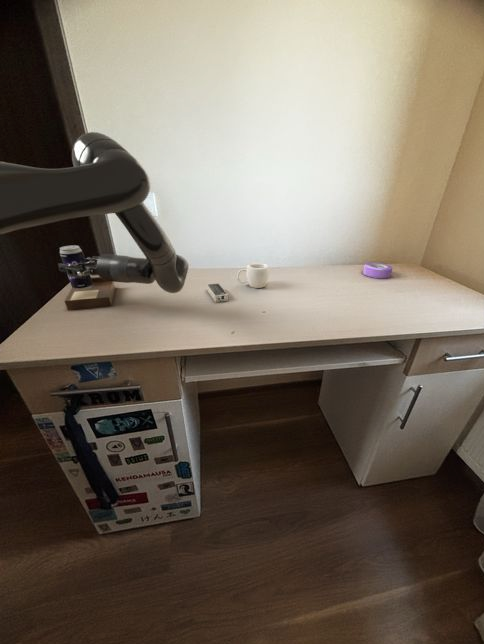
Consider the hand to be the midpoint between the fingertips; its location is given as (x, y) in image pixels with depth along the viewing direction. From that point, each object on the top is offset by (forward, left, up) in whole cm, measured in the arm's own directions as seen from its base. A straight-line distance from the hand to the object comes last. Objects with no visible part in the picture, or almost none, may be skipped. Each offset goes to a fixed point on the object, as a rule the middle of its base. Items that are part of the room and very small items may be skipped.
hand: (68, 264), depth 83 cm
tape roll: (+116, +1, -13) cm, 117 cm away
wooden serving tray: (+3, +3, -12) cm, 13 cm away
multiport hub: (+43, -5, -13) cm, 45 cm away
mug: (+58, +1, -13) cm, 59 cm away
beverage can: (+2, -1, -7) cm, 8 cm away
